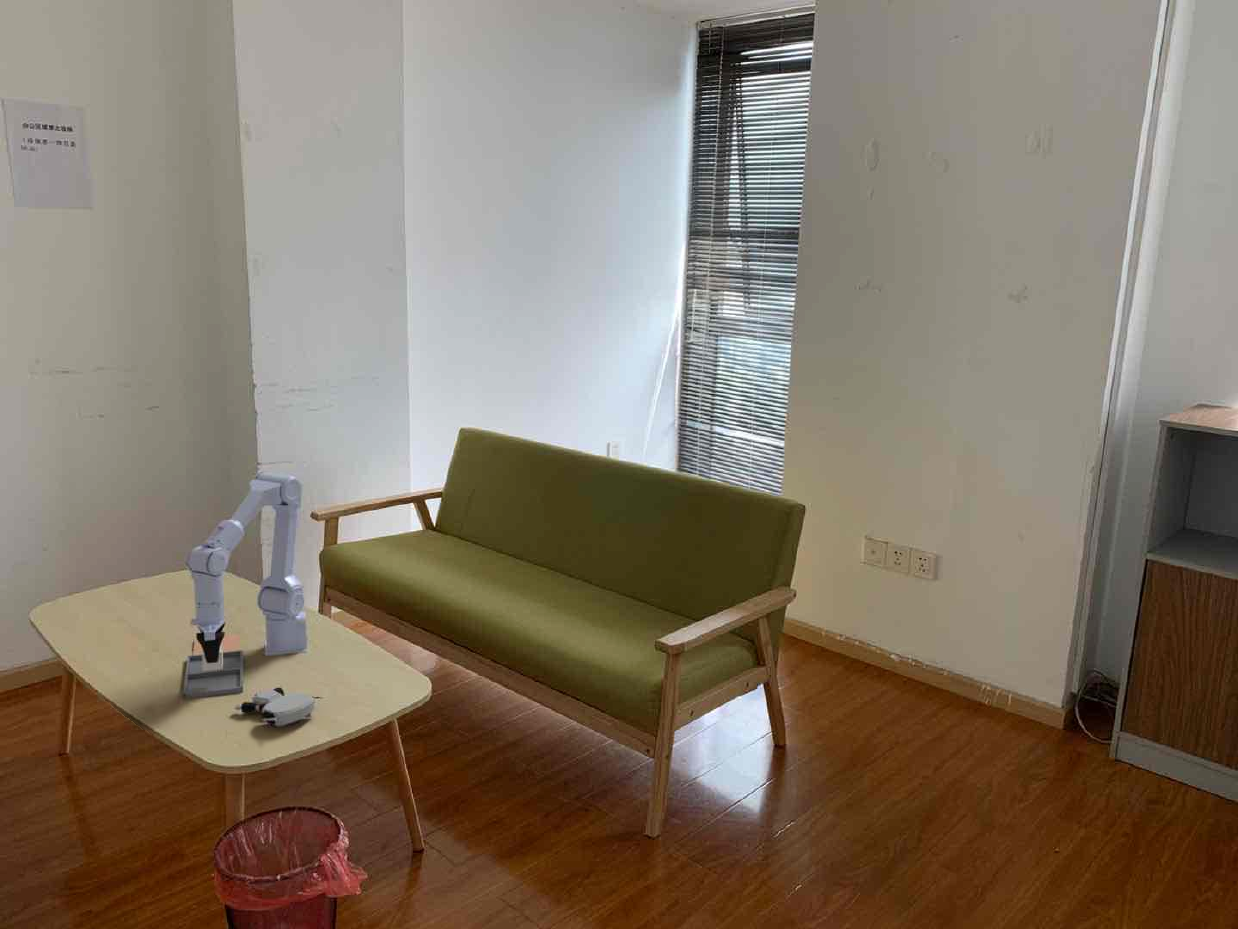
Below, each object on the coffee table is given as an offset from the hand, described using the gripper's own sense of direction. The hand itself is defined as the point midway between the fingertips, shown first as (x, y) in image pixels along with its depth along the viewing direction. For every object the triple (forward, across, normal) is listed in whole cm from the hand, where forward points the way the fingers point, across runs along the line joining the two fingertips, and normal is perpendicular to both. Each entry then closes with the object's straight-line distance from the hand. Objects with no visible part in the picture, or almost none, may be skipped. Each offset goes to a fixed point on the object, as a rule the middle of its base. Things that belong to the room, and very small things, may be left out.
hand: (212, 657), depth 209 cm
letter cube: (+2, 0, 0) cm, 2 cm away
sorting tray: (+7, -5, 0) cm, 9 cm away
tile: (+7, -22, 0) cm, 23 cm away
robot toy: (+7, +17, +13) cm, 23 cm away
